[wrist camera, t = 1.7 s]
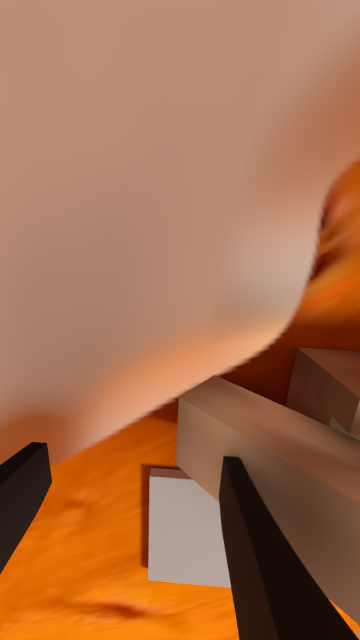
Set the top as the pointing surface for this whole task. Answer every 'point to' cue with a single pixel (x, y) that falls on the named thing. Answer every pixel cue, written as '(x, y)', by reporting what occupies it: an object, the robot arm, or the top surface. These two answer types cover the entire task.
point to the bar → (282, 476)
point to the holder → (327, 388)
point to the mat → (184, 532)
